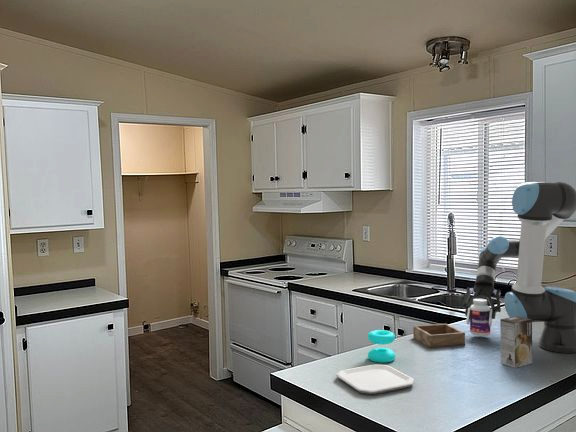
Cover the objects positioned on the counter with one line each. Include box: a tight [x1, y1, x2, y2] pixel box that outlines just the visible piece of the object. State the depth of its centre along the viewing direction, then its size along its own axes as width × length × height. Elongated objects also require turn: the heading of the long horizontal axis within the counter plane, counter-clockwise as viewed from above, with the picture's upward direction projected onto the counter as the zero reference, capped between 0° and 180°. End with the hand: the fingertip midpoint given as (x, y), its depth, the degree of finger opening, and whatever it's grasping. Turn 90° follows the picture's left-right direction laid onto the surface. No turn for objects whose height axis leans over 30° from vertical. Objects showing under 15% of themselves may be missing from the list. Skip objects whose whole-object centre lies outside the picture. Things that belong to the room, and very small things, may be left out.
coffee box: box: [500, 316, 533, 369], centre depth 185 cm, size 9×6×16 cm
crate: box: [412, 323, 466, 349], centre depth 214 cm, size 15×15×5 cm
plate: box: [335, 363, 415, 395], centre depth 170 cm, size 21×21×2 cm
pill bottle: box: [469, 298, 491, 337], centre depth 218 cm, size 8×8×14 cm
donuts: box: [367, 329, 396, 364], centre depth 193 cm, size 10×10×10 cm
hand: (478, 323), depth 215 cm, fingers closed on pill bottle, 8 cm apart
